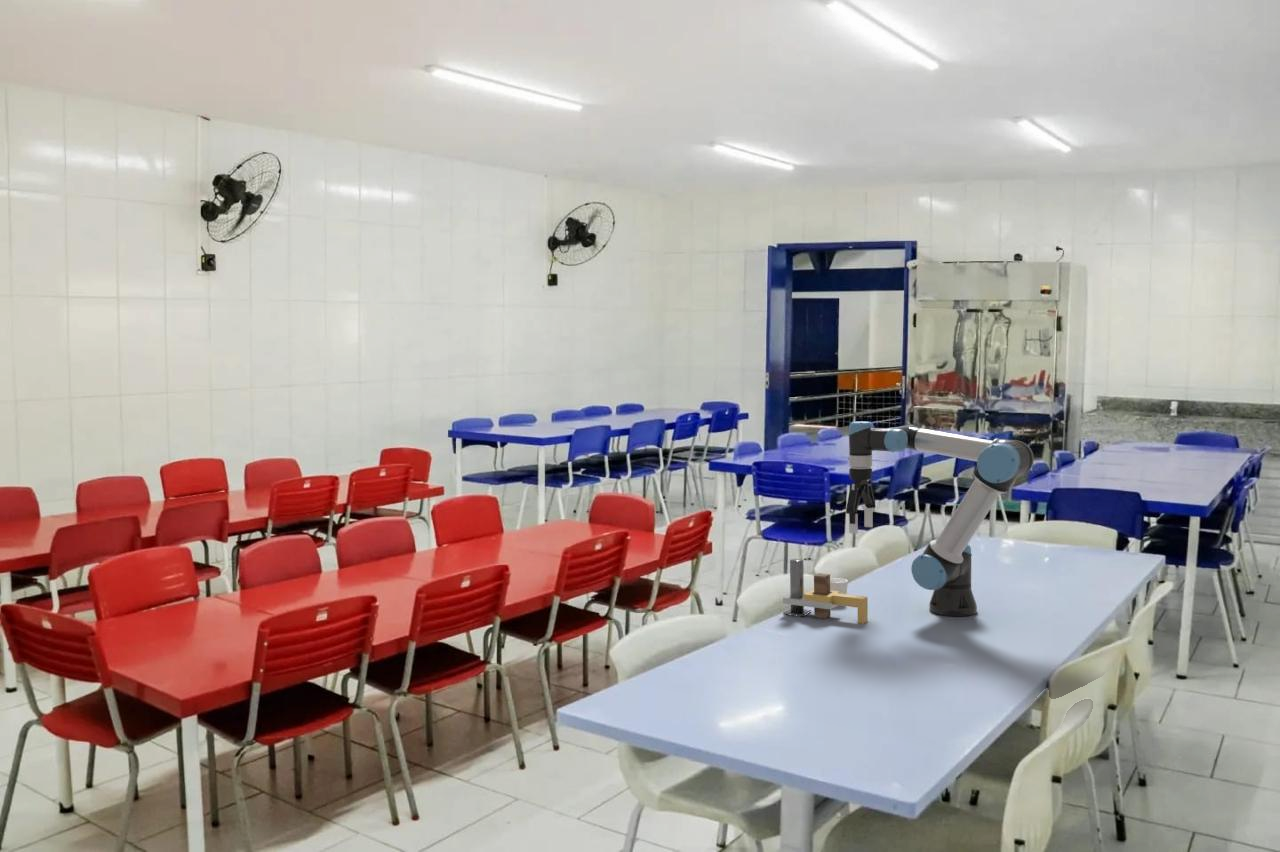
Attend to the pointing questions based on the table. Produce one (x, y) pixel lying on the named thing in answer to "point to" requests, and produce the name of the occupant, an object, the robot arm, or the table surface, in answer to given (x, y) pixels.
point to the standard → (800, 592)
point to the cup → (839, 585)
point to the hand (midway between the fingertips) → (861, 530)
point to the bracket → (842, 602)
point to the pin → (822, 592)
